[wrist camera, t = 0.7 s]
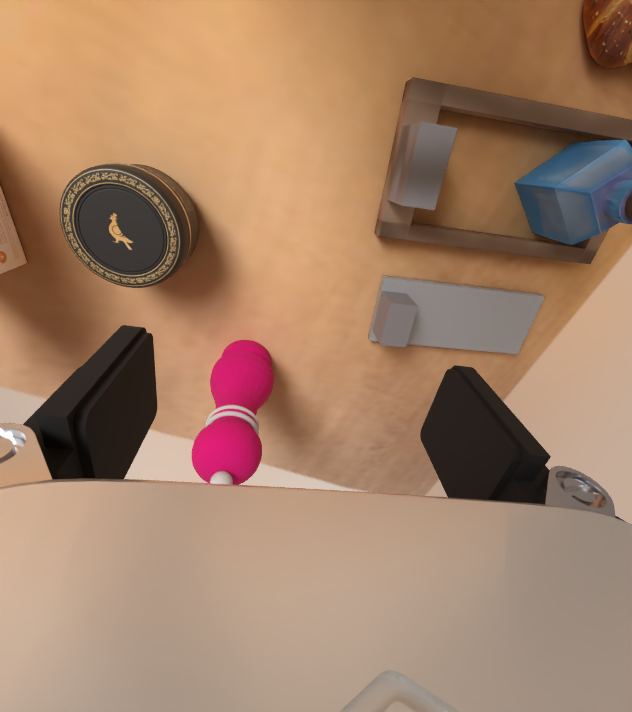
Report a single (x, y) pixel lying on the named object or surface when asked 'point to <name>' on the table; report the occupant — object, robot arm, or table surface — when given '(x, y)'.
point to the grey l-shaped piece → (452, 315)
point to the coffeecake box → (9, 240)
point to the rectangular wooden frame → (432, 151)
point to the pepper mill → (234, 415)
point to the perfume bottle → (579, 191)
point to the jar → (129, 223)
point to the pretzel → (609, 31)
